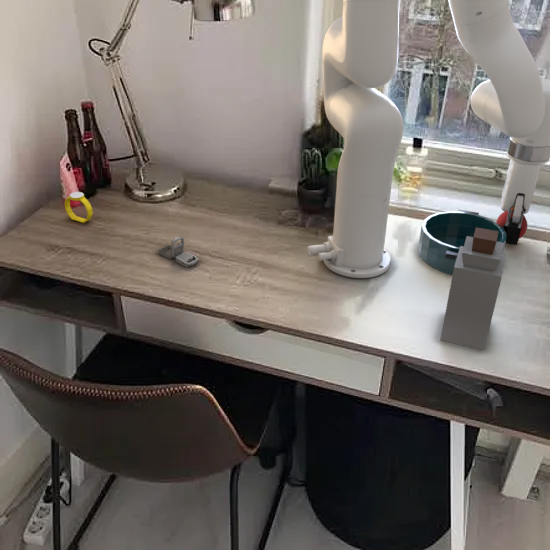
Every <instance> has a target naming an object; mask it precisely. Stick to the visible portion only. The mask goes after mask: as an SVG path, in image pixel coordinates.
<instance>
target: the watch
mask: <svg viewBox="0 0 550 550" xmlns="http://www.w3.org/2000/svg"><path fill="white" fill-rule="evenodd" d="M71 201H72V202H73V201H74V202H78V201H79V202H81V203H82V204H83V206H84V208H85V209H86V215H87V216H86V218H84V217H81V216H77V214H76V213H75V212H73V209H72V206H71ZM64 210H65V212H66V214H67V216H68V217H69V218H70V220H72V221H76V222H79V223H82V224H86V223H87V222H88V221H89V220H91V219H92V217H93V213H94V212H93V207H92V205H91V202H90V201H89V200H88V199H87V198H86V197H85V193H83V192H81V191H73V192H71V193H70V194H69V196H68V197H66V198H65V200H64Z"/></svg>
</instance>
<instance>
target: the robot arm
mask: <svg viewBox="0 0 550 550" xmlns="http://www.w3.org/2000/svg"><path fill="white" fill-rule="evenodd" d="M447 1H448V5H449V9H450V12H451V16H452V21H453V25H454V28H455V32H456V33H455V34H456V36H457V39H458V41H459V43H460V44H461V46H462V47H463V49H464V50H465V52H466V53H468V55H469V56H470V57H471V58H472V59H473V60H474V61H475V62H476V64H478V65H479V67H480V68H481V69H482V70H483V72H484V74H486V76H487V77H488V79H487V80H484V81H483V82H480V83H479V84H478V85H477V86H476V87H475V88H474V90H473V91H472V93H471V96H470V107H471V110H472V112H473V113H474V114H475V115H476V117H477V118H479V119H481V120H482V121H484V122H485V123H487V124H488V125H489V126H491V127H493V128H495V129H496V130H498V131H500V132H502V133H503V134H504V135H506V136H508V137H509V140H508V144H507V149H506V157H507V158H508V159H510V161H509V163H508V168H507V171H506V176H505V181H504V185H503V187H502V188H503V189H502V193H501V201H500V209H501V211H502V212H505V211H508V215H507V220H506V224H504V227H503V229H504V230H505V232H506V234H507V236H506V243H505V245H510V246H517V245H518V244H519V240H520V239H519V236H520V232H521V228H522V226H521V224H522V219H523V215H526V214H528V213H529V211H530V208H531V204H532V201H533V198H534V195H535V190H536V187H537V184H538V183H537V182H538V179H539V176H540V171H541V166H542V165H544V164H547V163H548V162H549V161H550V79H549V78H542V77H541V74H540V71H539V68H538V66H537V64H536V61H535V59H534V57H533V55H532V53H531V51H530V49H529V48H528V46H527V44H526V42H525V40H524V38H523V36H522V35H521V33H520V31H519V29H518V28H517V26H516V24H515V23H514V21H513V18H512V14H511V9H510V3H509V0H447ZM400 4H401V0H342V15H341V16H339V17H338V18H336V19H335V20H333V22H332V23H331V24H330V26H329V27H328V29H327V31H326V33H325V35H324V37H323V41H322V49H321V50H322V51H321V64H322V66H321V67H322V90H323V91H322V92H323V93H322V94H323V105H324V112H325V115H326V118H327V121H328V122H329V124H330V125H331V126H332V128H334V130H335V131H337V133H338V134H339V135H340V136H341V137H342V138H343V141H344V144H343V149H342V153H341V156H340V158H339V162H338V167H337V175H336V189H335V191H336V192H335V202H334V203H335V204H334V217H333V229H332V230H333V231H332V235H329V236H327V241H324V242H323V243H322V244H313V245H307V247H306V252H307V256H308V257H314V256H317V257H318V261H319V262H321V261H323V264H324V265H325V267H327V268H328V269H329V270H330V271H332V272H333V273H335V274H338V275H341V276H344V277H347V278H352V279H368V278H369V279H370V278H374V277H378V276H380V275H382V274H384V273H386V272H387V271H388V270H389V269H390V266H391V263H392V258H391V255H390V252H388V250H386V249H385V242H386V234H387V226H388V218H389V210H390V201H391V194H392V185H393V184H392V183H393V176H394V170H395V164H396V160H397V156H398V153H399V149H400V146H401V143H402V141H403V136H404V130H405V129H404V126H405V125H404V120H403V116H402V113H401V111H400V110H399V108H398V106H396V104H395V103H394V102H393V101H392V100H391V99H390V98H388V96H386V95H385V94H384V93H382V92H381V91H379V90H377V89H378V88H381V87H383V86H385V85H387V84H388V83H389V82H390V81H391V80H392V79H393V77H394V76H395V73H396V71H397V68H398V63H399V39H400V38H399V34H400V33H399V31H400V29H399V28H400V27H399V26H400ZM512 207H515V208H514V210H511V208H512ZM511 213H513V217H511V218H510V216H511Z"/></svg>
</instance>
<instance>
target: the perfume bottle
mask: <svg viewBox="0 0 550 550" xmlns="http://www.w3.org/2000/svg"><path fill="white" fill-rule="evenodd" d="M498 232H499V231H494V230H488V229H482V228H477V227H476V229H475V233H474V237H469V236H467V237H466V241H465V244H464V247H463V246H460V249H459V252H458V256H457V259H456V263H455V266H454V271H453V275H452V278H451V282H450V286H449V292H448V298H447V303H446V308H445V313H444V317H443V323H442V328H441V334H440V339H439V341H443V342H447V343H451V344H454V345H455V344H456V345H459V346H463V347H464V346H465V347H468V348H472V349H476V350H481V351H485V349H486V344H487V340H488V336H489V332H490V327H491V324H492V321H493V315H494V312H495V307H496V303H497V299H498V295H499V291H500V287H501V283H502V279H503V272H504V268H505V267H504V266H505V262H506V254H505V253H503V254H502V250H503V244H504V243H502V242H497V237H498Z"/></svg>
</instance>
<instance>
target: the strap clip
mask: <svg viewBox="0 0 550 550" xmlns="http://www.w3.org/2000/svg"><path fill="white" fill-rule="evenodd" d="M178 241H180V242H178ZM177 242H178V243H177ZM175 243H176V244H175ZM184 249H185V238H184V236H180V235H179V236H176V237H174V238H173V240H172V241H171V243H170V245H166V246H164V247H162V248H160V249H159V250H158V253H159V254H160V255H161V256H163V257H165V258H168V259H170V260H171V259H172V260H173V259H175V262H176V263H177V264H179V265H181V266H183V267H187V268H190V267H192V266H195V265H196V264H198V263H199V261H200V259H199V257H197V256H196V255H195V254H192V253H190V252H187V251H184Z"/></svg>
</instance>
